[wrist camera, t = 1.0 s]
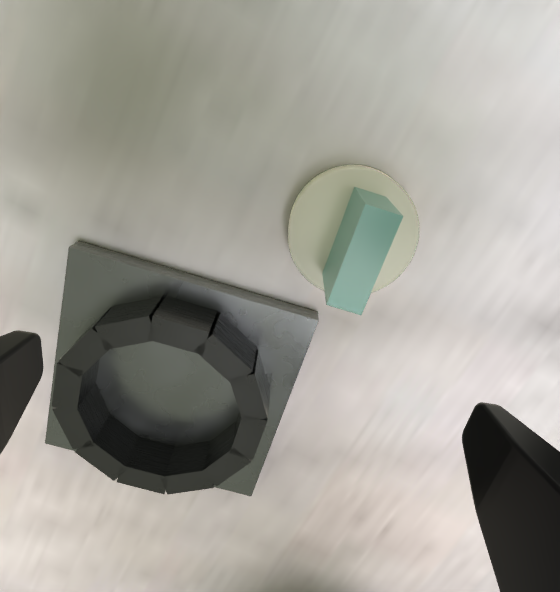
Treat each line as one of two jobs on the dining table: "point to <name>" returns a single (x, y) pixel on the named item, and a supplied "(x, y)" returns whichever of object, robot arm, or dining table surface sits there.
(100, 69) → the dining table surface
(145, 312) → the square ring flange
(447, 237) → the dining table surface
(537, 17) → the dining table surface
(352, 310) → the cap
